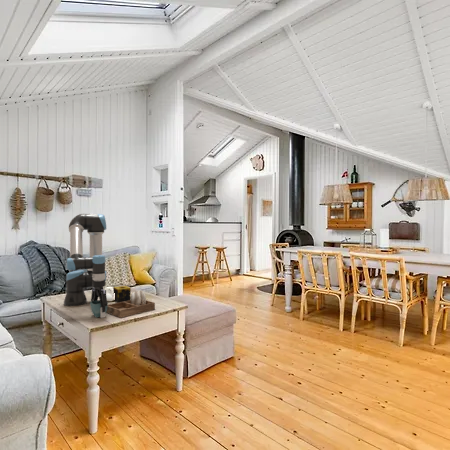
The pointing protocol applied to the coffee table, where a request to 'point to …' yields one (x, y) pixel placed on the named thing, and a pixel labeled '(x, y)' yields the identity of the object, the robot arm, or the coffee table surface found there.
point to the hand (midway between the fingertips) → (98, 315)
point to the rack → (131, 305)
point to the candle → (122, 293)
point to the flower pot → (96, 308)
